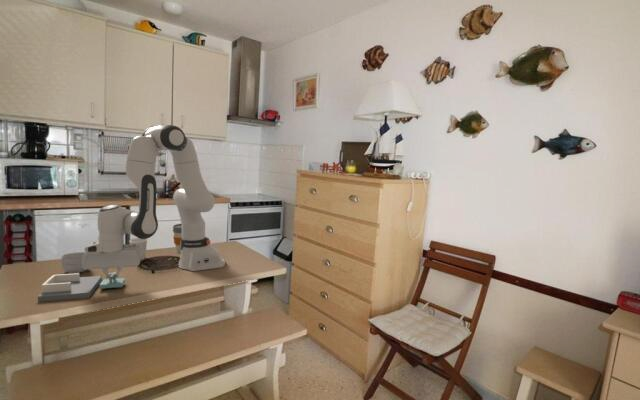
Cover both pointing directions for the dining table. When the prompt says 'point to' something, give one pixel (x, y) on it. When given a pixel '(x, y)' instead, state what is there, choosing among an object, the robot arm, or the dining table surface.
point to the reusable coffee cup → (177, 237)
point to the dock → (68, 287)
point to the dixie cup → (142, 244)
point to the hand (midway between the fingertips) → (112, 277)
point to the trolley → (112, 282)
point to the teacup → (73, 262)
